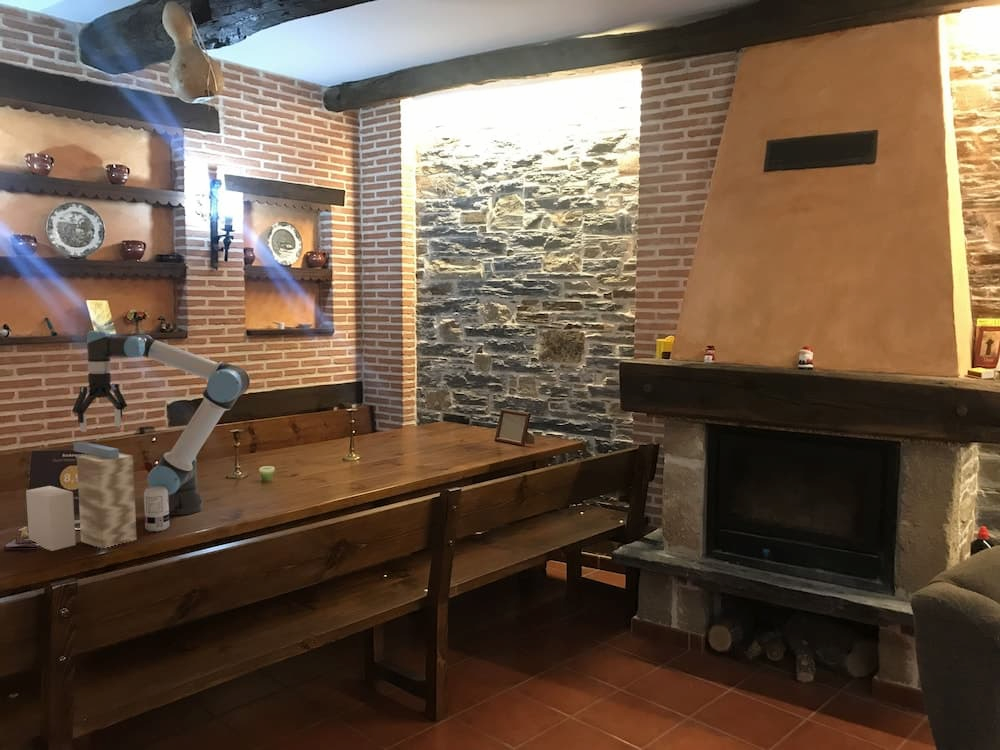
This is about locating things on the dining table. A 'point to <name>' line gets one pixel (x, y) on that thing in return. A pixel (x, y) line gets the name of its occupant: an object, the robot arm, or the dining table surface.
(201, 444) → the robot arm
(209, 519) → the dining table surface
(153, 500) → the supplement can
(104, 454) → the slate bar
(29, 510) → the white step
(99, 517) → the birch stand
